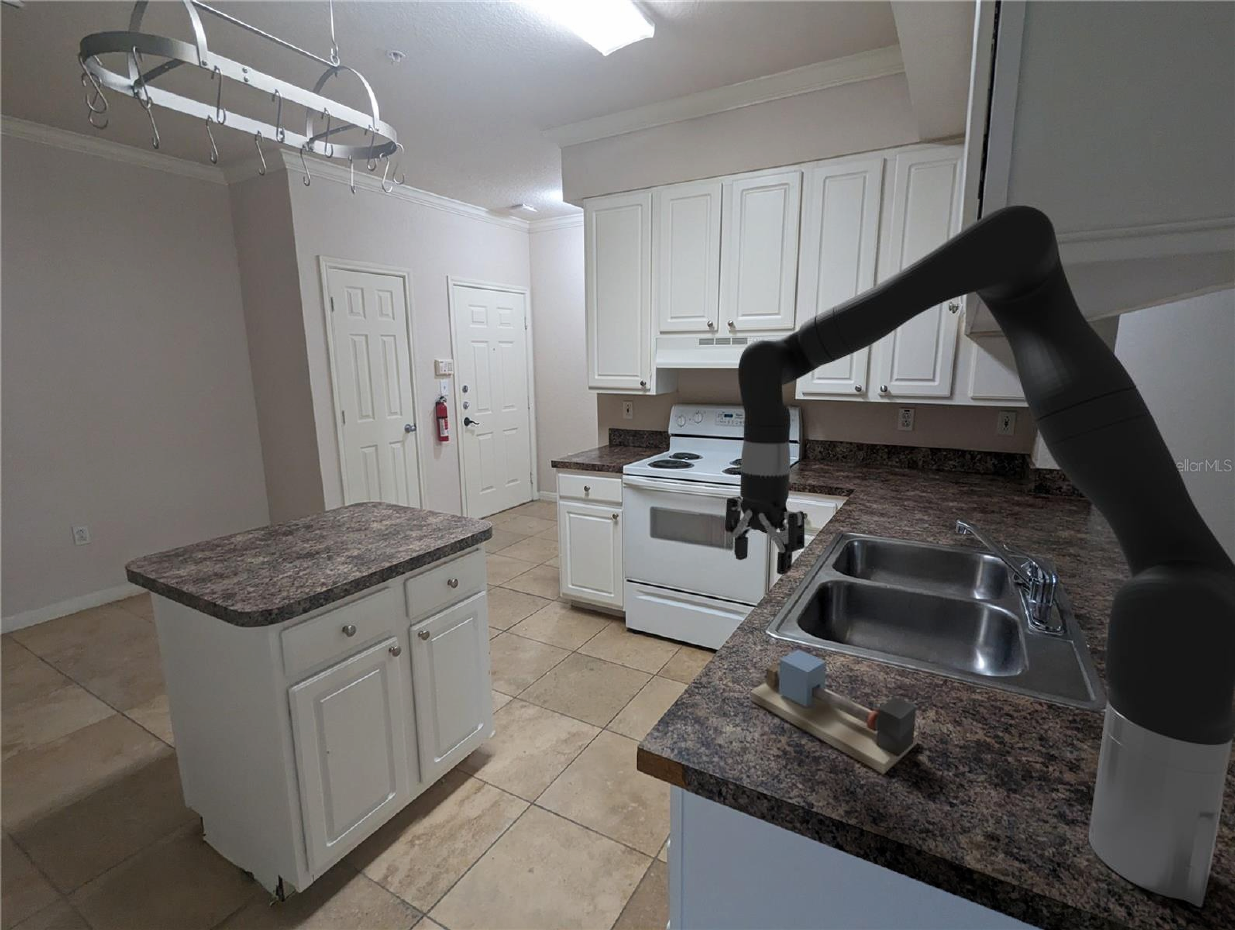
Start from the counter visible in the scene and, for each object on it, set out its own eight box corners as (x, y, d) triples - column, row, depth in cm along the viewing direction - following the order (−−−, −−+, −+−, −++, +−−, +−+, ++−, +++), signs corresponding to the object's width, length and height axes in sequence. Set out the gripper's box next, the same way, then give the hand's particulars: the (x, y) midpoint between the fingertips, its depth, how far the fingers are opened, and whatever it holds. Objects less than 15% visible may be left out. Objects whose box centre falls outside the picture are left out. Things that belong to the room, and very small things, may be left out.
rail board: (921, 744, 78) (925, 698, 77) (887, 776, 72) (890, 727, 71) (786, 678, 96) (788, 640, 95) (750, 699, 90) (751, 659, 89)
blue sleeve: (824, 695, 87) (826, 661, 86) (806, 707, 84) (807, 672, 83) (797, 681, 91) (798, 649, 90) (778, 692, 88) (779, 659, 87)
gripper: (818, 472, 84) (812, 573, 87) (746, 460, 95) (743, 550, 98) (787, 479, 80) (782, 584, 83) (715, 465, 91) (713, 558, 94)
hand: (761, 565), depth 90 cm, fingers open, 8 cm apart
